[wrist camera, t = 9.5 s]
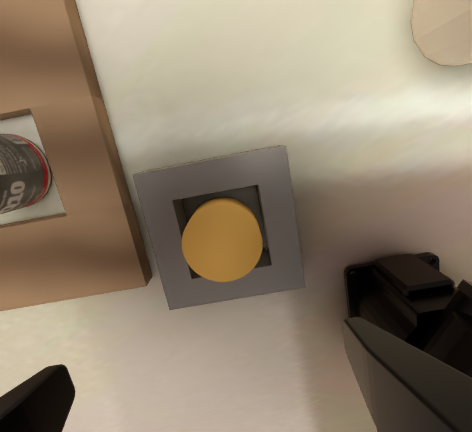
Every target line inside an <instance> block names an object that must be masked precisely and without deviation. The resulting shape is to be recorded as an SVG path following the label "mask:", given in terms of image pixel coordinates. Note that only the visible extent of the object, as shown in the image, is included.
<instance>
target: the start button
mask: <svg viewBox="0 0 472 432" xmlns="http://www.w3.org/2000/svg"><path fill="white" fill-rule="evenodd" d="M182 251H183V254H184V257H185V259H186V261H187V263H188V264H189V266H190V267H191V268H192V269H193V270H194V271H195V272H196V273H197V274H199V275H200V276H202V277H204V278H206V279H208V280H212V281H217V282H228V281H233V280H236V279H239V278H241V277H243V276H245V275H246V274H248V273H249V272H250V271H251V270H252V269H253V268H254V267H255V265H256V264H257V262H258V260H259V258H260V256H261V252H262V236H261V232H260V229H259V225H258V222H257V219H256V216H255V215H254V213H253V212H252V210H251V209H250V208H249V207H248V206H247V205H246V204H244V203H243V202H241V201H239V200H237V199H234V198H229V197H218V198H213V199H210V200H208V201H206V202H204V203H203V204H202V205H200V206H199V207H198V208H197V209H196V211H195V212H194V214H193V215H192V217H191V219H190V220H189V222H188V224H187V226H186V227H185V230H184V232H183V236H182Z"/></svg>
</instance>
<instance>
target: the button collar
mask: <svg viewBox="0 0 472 432" xmlns="http://www.w3.org/2000/svg"><path fill="white" fill-rule="evenodd" d="M133 178H134V182H135V185H136V189H137V192H138V196H139V200H140V203H141V207H142V211H143V214H144V218H145V222H146V225H147V229H148V233H149V236H150V240H151V244H152V247H153V251H154V255H155V258H156V262H157V266H158V269H159V273H160V277H161V280H162V284H163V287H164V291H165V295H166V298H167V302H168V306H169V309H170V310H173V309H179V308H184V307H190V306H196V305H202V304H208V303H214V302H220V301H226V300H232V299H238V298H244V297H250V296H256V295H262V294H268V293H274V292H280V291H286V290H292V289H298V288H304V287H306V286H305V278H304V271H303V264H302V257H301V250H300V243H299V235H298V228H297V221H296V214H295V207H294V199H293V192H292V185H291V178H290V171H289V163H288V156H287V149H286V146H283V145H278V146H273V147H268V148H262V149H257V150H252V151H247V152H241V153H236V154H231V155H226V156H220V157H215V158H210V159H205V160H199V161H194V162H189V163H184V164H178V165H173V166H168V167H163V168H157V169H152V170H147V171H143V172H140V173H137V174H134V175H133ZM253 185H257V190H258V196H259V202H260V208H261V214H262V220H263V226H264V232H265V238H266V243H267V249H268V251H264V252H261V256H260V258H259V260H258V262H257V264H256V265H255V267H254V268H253V269H252V270H251V271H250V272H249V273H248V274H246V275H245V276H243V277H241V278H239V279H236V280H233V281H228V282H217V281H212V280H208V279H206V278H204V277H202V276H200V275H199V274H197V273H196V272H195V271H194V270H193V269H192V268H191V267H190V266H189V264H188V263H187V261H186V259H185V257H184V254H183V251H182V236H183V232H184V230H185V227H186V226H187V220H186V216H185V212H184V208H183V204H182V199H183V198H188V197H194V196H199V195H205V194H210V193H216V192H221V191H226V190H232V189H237V188H243V187H248V186H253Z"/></svg>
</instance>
